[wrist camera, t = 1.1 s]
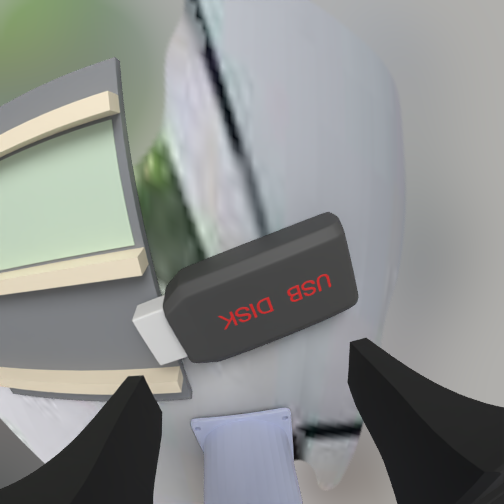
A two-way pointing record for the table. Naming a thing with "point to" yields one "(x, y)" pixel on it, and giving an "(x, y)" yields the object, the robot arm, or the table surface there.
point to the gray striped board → (74, 245)
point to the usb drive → (252, 294)
